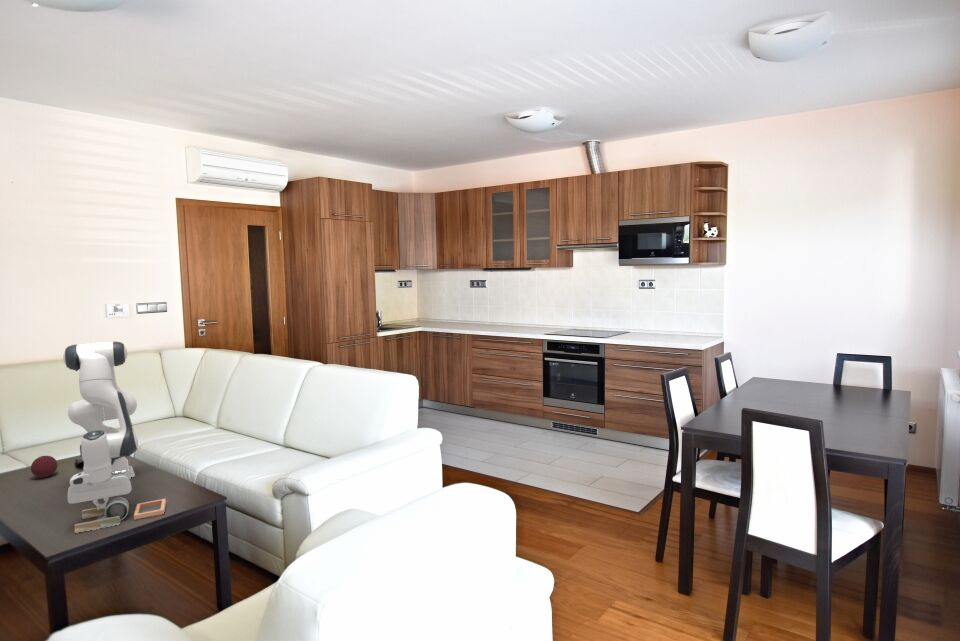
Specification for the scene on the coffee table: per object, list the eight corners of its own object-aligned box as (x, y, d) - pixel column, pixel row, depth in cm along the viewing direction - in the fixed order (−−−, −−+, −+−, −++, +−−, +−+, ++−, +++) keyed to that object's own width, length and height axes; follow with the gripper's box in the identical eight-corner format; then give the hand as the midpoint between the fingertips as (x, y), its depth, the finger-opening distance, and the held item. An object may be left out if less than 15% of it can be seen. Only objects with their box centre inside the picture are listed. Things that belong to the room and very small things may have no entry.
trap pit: (137, 508, 228) (137, 503, 228) (166, 503, 232) (165, 498, 232) (134, 520, 217) (133, 515, 217) (164, 514, 221) (163, 509, 221)
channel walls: (83, 517, 221) (82, 510, 221) (125, 509, 227) (124, 502, 227) (75, 533, 208) (74, 525, 208) (120, 524, 214) (119, 517, 214)
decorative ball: (29, 482, 260) (26, 461, 259) (35, 475, 269) (33, 454, 268) (55, 478, 264) (53, 457, 263) (61, 471, 273) (58, 451, 272)
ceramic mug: (130, 511, 225) (128, 493, 224) (129, 519, 218) (127, 500, 217) (98, 518, 220) (96, 499, 219) (96, 526, 213) (93, 507, 212)
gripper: (131, 466, 223) (134, 500, 224) (68, 476, 214) (72, 511, 216) (129, 471, 217) (132, 506, 219) (64, 482, 209) (68, 518, 210)
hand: (102, 509), depth 217 cm, fingers closed
